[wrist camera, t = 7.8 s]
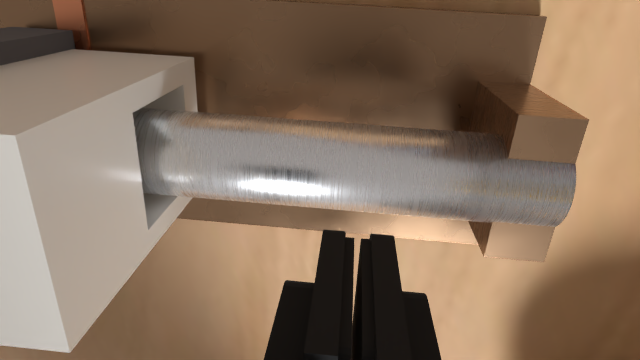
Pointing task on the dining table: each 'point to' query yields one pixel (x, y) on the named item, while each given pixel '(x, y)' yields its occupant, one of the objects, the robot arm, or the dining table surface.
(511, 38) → the linear slide
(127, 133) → the sleeve
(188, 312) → the dining table surface
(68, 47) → the dark grey notched block
